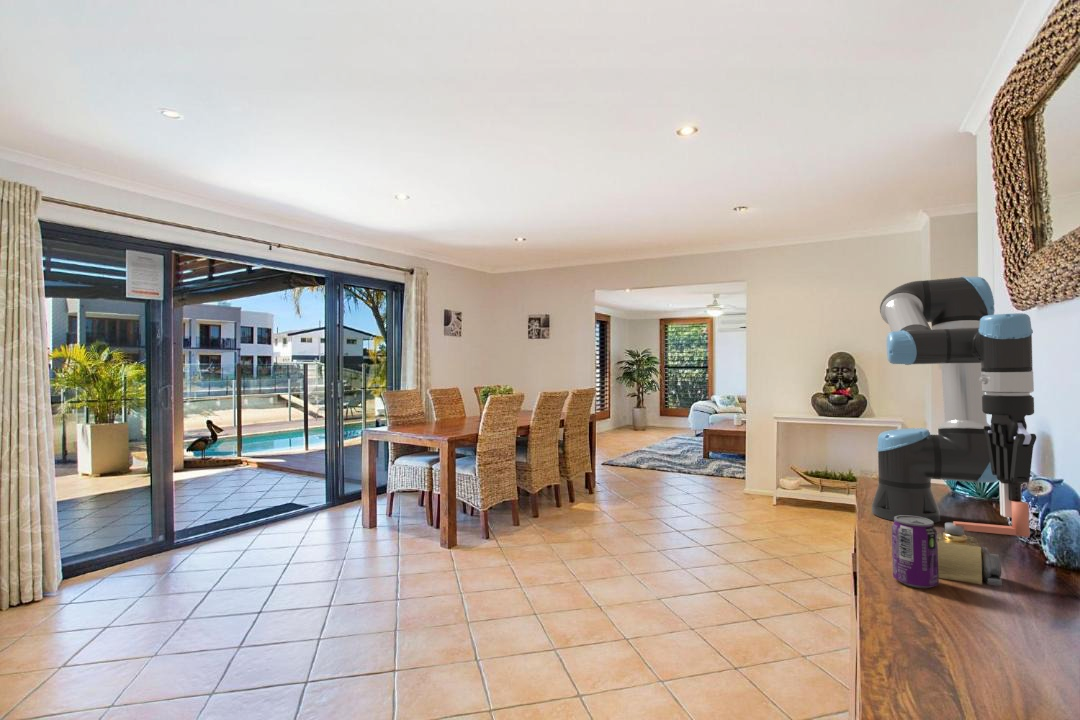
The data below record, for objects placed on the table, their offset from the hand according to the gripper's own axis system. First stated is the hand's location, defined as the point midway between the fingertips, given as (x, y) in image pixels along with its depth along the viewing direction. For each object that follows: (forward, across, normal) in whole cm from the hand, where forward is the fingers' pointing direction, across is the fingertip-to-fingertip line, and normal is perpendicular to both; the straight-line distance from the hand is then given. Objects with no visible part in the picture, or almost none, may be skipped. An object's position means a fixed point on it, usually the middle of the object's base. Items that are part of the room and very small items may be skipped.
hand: (1011, 516), depth 101 cm
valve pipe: (+12, +1, -10) cm, 15 cm away
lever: (+3, +2, -5) cm, 6 cm away
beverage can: (+12, +7, -19) cm, 23 cm away
